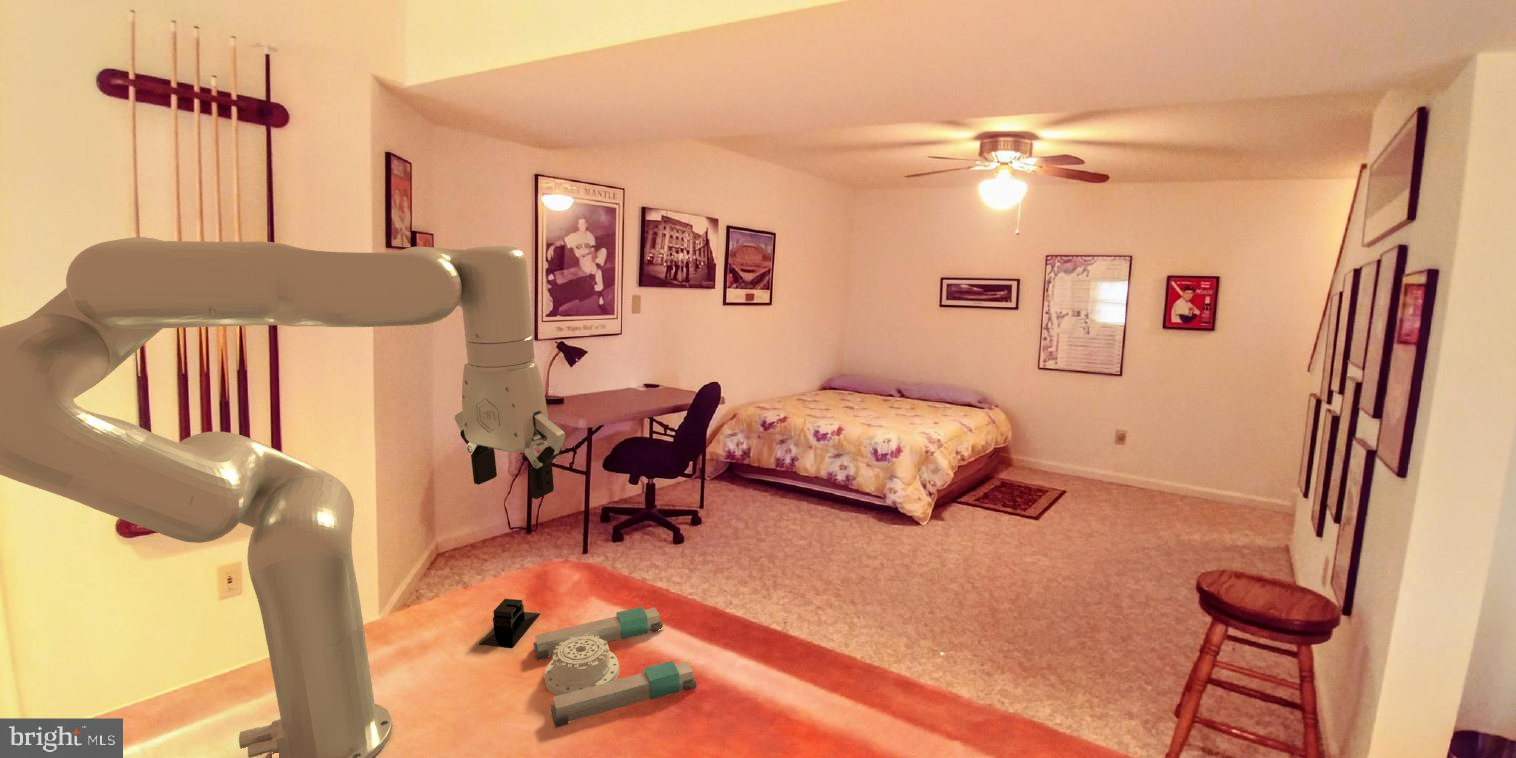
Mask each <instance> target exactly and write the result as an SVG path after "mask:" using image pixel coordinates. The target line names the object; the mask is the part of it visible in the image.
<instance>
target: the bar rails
mask: <svg viewBox="0 0 1516 758" xmlns="http://www.w3.org/2000/svg"><path fill="white" fill-rule="evenodd" d="M615 613H616V614H615V615H616V616H612V617H608V618H603V619H599V620H595V621H594V620H593V621H590V622H586V623H582V624H578V625H573V626H568V627H565V628H560V629H556V630H553V631H548V632H544V633H543V632H542V633H539V634H535V636H534V637H535V642H533V644H532V645H533V651H534V654H535V658H536V661H537V662H540V661H543V660H547V659H549V658H550V657H553V651H554V650H555V649H556V646H559V643H560V642H565V641H567V640H570V638H571V637H575V638H576V637H582V636H583V635H585V634H586V635H587V636H590V635H594V637H596V636H599V638H600V639H602V640H604V641H607V643H609V642H613V641H618V640H625V639H630V638H634V637H638V636H642V635H646V634H649V632H651V633H657V632H659V631H658V630H659V629H661V628H662V627H663V628H664V626H663V622H662V620H661V619H660V618H661V617H660V613H659V611H658V610H657V608H656V607H651V608H646V609H644V608H643V606H638V607H634V608H629V609H625V610H621V611H617V612H615ZM656 631H657V632H656ZM696 688H697V680H696V679H695V677H694V671H693V669H692V667H691V666H690V664H689V662H688V661H687V660H685V661H683V662H678V663H675V662H674V661H673V660H669V661H665V662H662V663H659V664H654V665H650V666H647V667H643V672H642V673H638V674H633V675H630V676H627V677H623V678H619V679H618V678H617V680H614V681H611V682H607V683H603V684H599V685H596V686H592V687H588V688H584V689H581V690H577V691H573V692H570V693H566V694H562V695H558V696H557V695H555V696H553V697H552V704H550V712H551V717H552V720H553V721H552V722H553V724H554V728H555V729H556V728H559V727H563V726H567V725H569V723H570V722H574V721H576V720H580V719H583V718H588V717H591V716H594V715H598V714H602V713H605V712H608V711H611V710H615V709H620V708H624V707H626V706H630V705H633V704H637V703H641V702H644V701H647V700H650V701H652V700H656V699H659V698H663V697H667V696H670V695H673V694H676V693H680V692H681V691H682V690H684V692H685V691H686V692H687V691H690V690H693V689H696Z"/></svg>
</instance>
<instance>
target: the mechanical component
mask: <svg viewBox="0 0 1516 758" xmlns="http://www.w3.org/2000/svg"><path fill="white" fill-rule="evenodd" d="M619 662H620V661H619V659H618V658H617V655H615V653H613V652H612V651H610V647H609V644H608V642H607V641H604V640H602V639H600V638H599V636H596V637H594V635H590V636H587V635H586V634H585V635H583V636H582V637H576V638H575V637H571V638H570V640H567V641H565V642H560V643H559V646H556V649H555V650H554V651H553V656H552V659H551V661H549V663H548V664H547V665H546V667H545V670H544V682H545V686H546V689H547V690H548V691H549V692H550V693H551V694H552V695H555V696H558V695H562V694H566V693H570V692H573V691H577V690H581V689H584V688H588V687H592V686H596V685H599V684H603V683H607V682H611V681H614V680H618V677H619V675H620V664H619Z"/></svg>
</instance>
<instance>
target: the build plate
mask: <svg viewBox="0 0 1516 758" xmlns="http://www.w3.org/2000/svg"><path fill="white" fill-rule="evenodd" d="M540 615H541V613H539V612H530V611H529V612H528V611H525V605H524V604H523V599H513V598H504V599H503V600H502V601H501V602H500V603H499V604H498V605H497V606H496V607H495V608H494V610H493V617H492V623H493V627H492V628H491V630H489V632H488V633H487V634H486V635H485V636H484V638H483V639H482V640H481V641H480V642H479V643H478V646H479V645H480V646H488V647H496V648H504V649H513V648H514V647H515V646H516V645H517V644H518V642H519V641H520V639H522V638H523V636H524V635H525V634H526V632H527V631H528V630H529V628H530V627H532V625H533V624H534V623H535V621H537V619H538V618H539V617H540Z"/></svg>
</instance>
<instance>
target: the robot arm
mask: <svg viewBox="0 0 1516 758" xmlns="http://www.w3.org/2000/svg"><path fill="white" fill-rule="evenodd" d="M65 276H66V277H65V281H66V282H65V285H66V287H65V288H64V289H63V290H62V291H61V292H59V293H58V294H57V295H55V296H54V297H52V299H50V300H49V301H47V302H46V303H45V304H43V306H42V307H40V308H39V309H38V310H36V311H35V312H34V313H32V314H31V315H30V316H29V317H27V318H25V319H21V320H18V321H16V322H13V323H10V324H6V325H4V326H0V476H3V477H5V478H7V479H10V480H13V481H17V482H18V483H22V484H24V485H28V486H30V487H33V488H37V489H39V490H42V491H46V492H48V493H52V494H54V495H57V496H60V497H63V498H66V499H68V500H71V501H74V502H76V503H80V504H81V505H83V506H85V507H89V508H92V509H94V510H96V511H99V512H102V513H104V514H107V515H109V516H113V517H115V518H117V519H120V520H123V521H126V522H129V523H132V524H134V525H137V526H139V527H142V528H145V529H147V530H151V531H154V532H155V533H159V534H160V535H163V536H166V537H168V538H172V539H175V540H177V541H178V540H179V541H181V542H185V543H193V544H194V543H197V544H202V543H208V542H214V541H216V540H219V539H221V538H222V537H224V536H226V535H227V534H229V533H230V532H232V531H233V530H234V529H235V528H236V527H237V526H238V525H239V524H243V525H245V526H247V527H251V528H253V529H252V530H251V531H252V532H251V534H250V537H249V542H248V546H247V567H248V568H247V569H248V573H249V577H250V581H251V583H252V587H253V590H254V593H255V596H256V598H257V599H256V600H257V603H258V606H259V609H260V614H261V620H262V624H263V630H264V634H265V640H266V641H265V642H266V646H267V650H268V656H269V659H270V660H269V661H270V666H271V667H270V668H271V673H272V678H273V683H274V684H273V685H274V690H275V694H276V701H277V706H278V712H279V717H280V718H279V719H276V720H272V722H271V724H269V725H264V726H258V727H254V728H250V729H245V730H242V731H241V730H240V732H239V735H238V745H239V749H240V750H242V748H243V749H246V747H247V757H248V758H255V757H258V756H263V754H267V753H272V752H273V754H274V753H279V758H374V757H375V756H376V755H377V754H378V753H380V751H381V750H382V749H383V748H384V747H385V745H386V744H387V742H388V741H389V740H390V737H391V735H392V732H393V721H392V716H391V713H390V712H389V710H387V709H386V707H384V706H382V705H380V704H378V703H375V699H374V698H375V697H374V691H373V683H372V675H371V670H370V662H369V655H368V647H367V641H366V635H365V627H364V619H363V614H362V613H363V612H362V608H361V607H362V606H361V600H360V599H361V598H360V592H359V587H358V583H357V582H358V581H357V576H356V571H355V565H354V559H353V557H354V556H353V545H352V536H353V535H352V534H353V527H354V524H353V523H354V515H355V513H354V512H355V506H354V504H355V503H354V500H353V496H352V493H351V491H350V490H349V489H348V487H347V486H346V485H345V484H344V483H343V482H342V481H341V480H340V479H338V477H335V476H334V475H332V474H331V473H329V472H326V471H325V470H322V469H320V468H318V467H317V466H316V467H315V466H314V465H312V464H309V463H307V462H304V461H302V460H300V459H299V458H296V457H294V456H292V455H289V454H287V453H284V452H282V451H281V450H277V449H276V448H273V447H271V446H269V445H267V444H265V443H262V442H261V441H257V440H255V439H253V438H250V437H247V436H244V435H241V434H238V433H237V434H236V433H233V432H228V431H227V432H226V431H206V432H200V433H196V434H193V435H191V436H189V437H186V438H185V439H182V440H181V441H179V442H177V441H174V440H172V439H169V438H166V437H164V436H162V435H159V434H156V433H154V432H151V431H149V430H147V429H146V428H143V427H141V426H139V425H137V424H134V423H132V422H129V421H126V420H122V419H119V418H115V417H112V416H108V415H103V414H99V413H95V412H93V411H89V410H86V409H84V408H82V407H81V406H80V405H78V404H77V403H75V401H74V399H75V398H77V397H79V396H81V395H82V394H84V393H86V392H87V391H88V390H90V389H92V388H94V387H95V386H96V385H98V384H99V383H100V382H102V381H103V380H105V378H107V377H108V376H109V375H111V373H113V372H114V371H115V370H116V369H117V368H118V367H120V366H121V365H122V364H123V363H124V362H125V361H126V360H127V359H129V358H130V357H131V356H132V355H133V354H135V353H136V352H137V351H138V350H139V349H141V348H142V347H143V346H144V345H146V344H147V342H149V341H150V340H151V339H152V338H153V337H155V336H156V335H157V334H158V333H160V332H161V331H162V330H163V329H183V328H184V329H185V328H209V327H211V328H212V327H244V326H245V327H246V326H247V327H248V326H284V327H285V326H286V327H297V328H298V327H324V328H329V327H330V328H377V327H378V328H380V327H404V326H405V327H406V326H407V327H408V326H422V325H423V326H424V325H428V324H433V323H436V322H440V321H441V320H443V319H445V318H447V317H449V315H451V314H452V313H453V312H455V310H456V308H457V307H460V308H461V310H462V318H463V319H462V320H463V328H464V330H463V331H464V337H465V338H464V339H465V341H464V342H465V348H466V359H467V362H466V363H465V364H464V366H463V371H462V380H461V381H462V383H461V384H462V387H461V407H462V410H461V411H460V412H458V413H456V414H455V415H454V421H455V423H456V425H457V427H458V429H459V431H460V437H461V438H462V440H463V441H464V443H465V444H466V451H467V453H469V454H470V458H471V468H472V479H473V484H475V485H481V484H484V483H486V482H488V481H490V480H491V481H492V480H494V479H495V478H496V477H497V475H498V474H497V472H498V471H497V463H496V462H497V461H496V453H495V450H497V451H503V452H507V453H515V454H518V453H521V452H523V453H524V454H525V456H526V457H527V459H528V460H529V461H530V463H531V465H532V466H531V467H528V476H529V477H528V478H529V487H530V495H531V498H532V499H534V500H539V499H540V498H542V497H545V496H546V495H549V494H550V493H552V492H554V490H555V487H554V486H555V485H554V484H555V483H554V473H553V471H554V470H553V463H554V462H555V461H556V460H557V456H558V455H560V453H561V452H562V446H563V444H564V441H565V438H566V433H565V432H564V431H563V430H562V429H561V428H560V427H559V426H557V425H556V424H555V423H554V422H552V421H551V420H550V419H549V416H548V415H549V414H548V409H547V400H546V396H545V390H544V386H543V385H544V384H543V380H542V378H541V372H540V369H539V366H538V364H537V363H536V360H535V359H536V358H535V348H534V336H533V335H534V334H533V327H532V326H533V323H532V311H531V299H530V286H529V273H528V264H527V258H526V255H525V253H524V252H523V251H522V250H521V249H519V248H518V247H517V248H516V247H515V246H514V247H513V246H503V245H502V246H499V245H497V246H494V245H492V246H477V247H476V246H475V247H471V248H466V249H455V248H442V247H441V248H440V247H432V246H431V247H429V246H411V247H406V248H405V249H402V250H399V251H398V252H355V251H354V252H353V251H352V252H351V251H350V252H347V251H325V250H315V249H314V250H313V249H306V248H301V247H296V246H293V245H289V244H286V243H280V242H272V241H258V240H257V241H201V240H200V241H195V240H194V241H189V240H188V241H187V240H185V241H184V240H181V241H180V240H161V239H158V238H153V237H146V236H145V237H144V236H142V237H141V236H140V237H139V236H135V237H127V238H121V239H114V240H107V241H103V242H99V243H95V244H94V245H92V246H89V247H87V248H85V249H83V250H81V252H79V253H78V254H77V255H76V256H75V257H74V258H73V260H72V261H71V262H70V265H69V266H68V269H67V273H66V275H65ZM537 447H538V449H539V451H540V453H539V454H538V452H537V451H536V449H535V448H537Z"/></svg>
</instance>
